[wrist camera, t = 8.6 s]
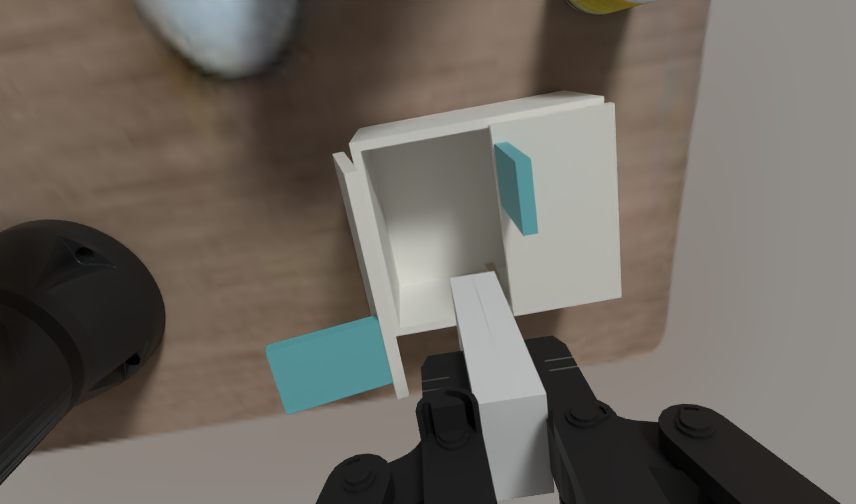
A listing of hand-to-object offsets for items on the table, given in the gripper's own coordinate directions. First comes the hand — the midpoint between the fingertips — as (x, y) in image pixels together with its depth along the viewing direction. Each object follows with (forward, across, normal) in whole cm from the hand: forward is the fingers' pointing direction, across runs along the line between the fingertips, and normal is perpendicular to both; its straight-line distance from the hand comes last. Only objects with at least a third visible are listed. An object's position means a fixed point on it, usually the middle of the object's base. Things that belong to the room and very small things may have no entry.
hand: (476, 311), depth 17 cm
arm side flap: (+12, -5, -3) cm, 14 cm away
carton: (+25, +3, -4) cm, 25 cm away
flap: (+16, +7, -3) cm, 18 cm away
